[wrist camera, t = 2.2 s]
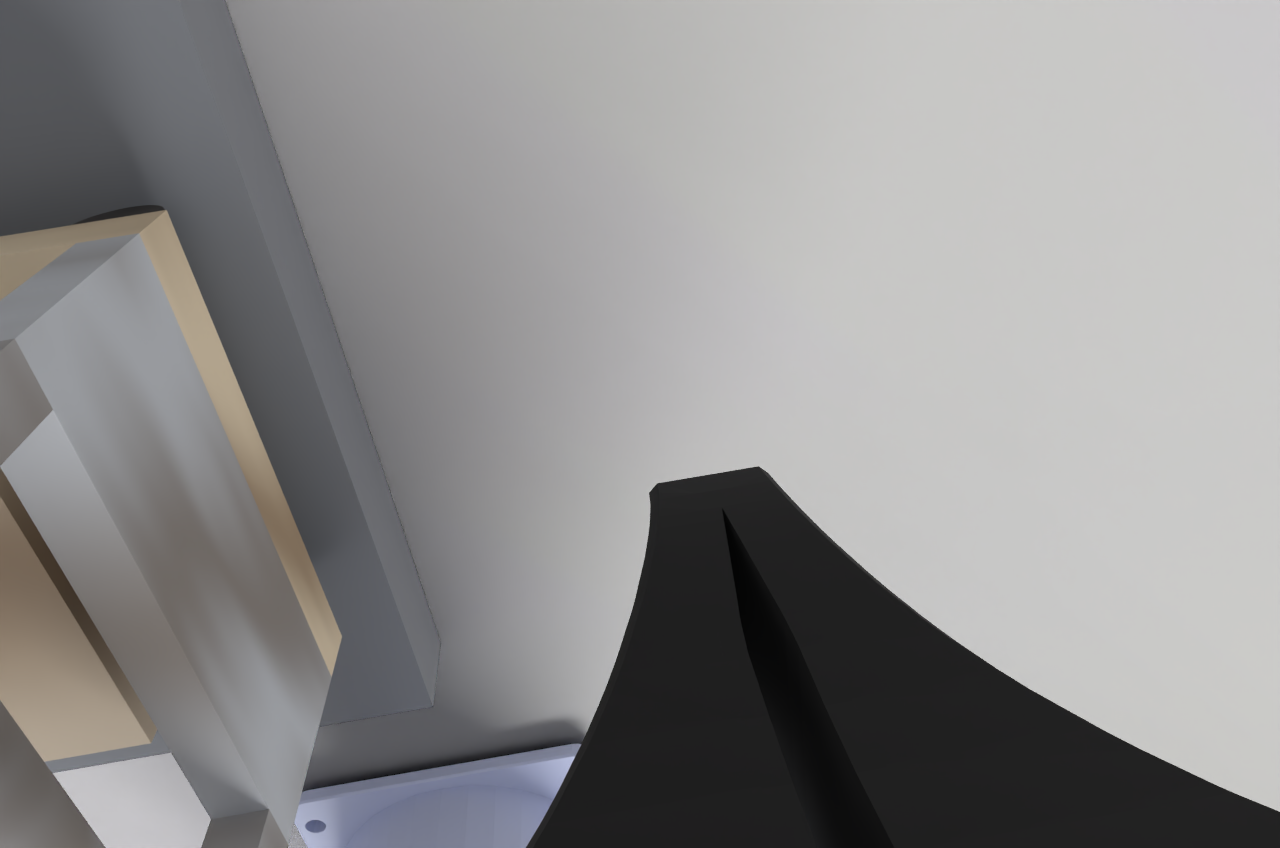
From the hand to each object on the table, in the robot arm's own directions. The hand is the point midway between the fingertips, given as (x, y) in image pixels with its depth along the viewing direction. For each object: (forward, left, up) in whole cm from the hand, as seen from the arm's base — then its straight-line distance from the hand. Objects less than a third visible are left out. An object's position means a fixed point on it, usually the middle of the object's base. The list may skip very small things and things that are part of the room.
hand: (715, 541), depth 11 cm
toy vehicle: (0, +10, -6) cm, 11 cm away
